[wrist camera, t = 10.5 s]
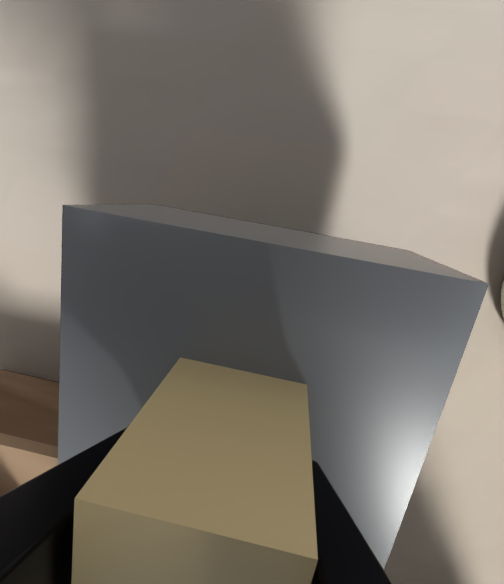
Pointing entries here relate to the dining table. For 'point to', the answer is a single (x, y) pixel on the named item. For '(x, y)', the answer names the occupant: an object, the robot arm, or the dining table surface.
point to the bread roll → (502, 299)
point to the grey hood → (244, 389)
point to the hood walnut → (27, 428)
